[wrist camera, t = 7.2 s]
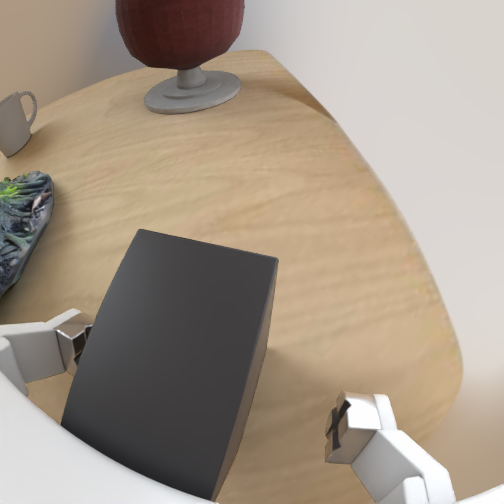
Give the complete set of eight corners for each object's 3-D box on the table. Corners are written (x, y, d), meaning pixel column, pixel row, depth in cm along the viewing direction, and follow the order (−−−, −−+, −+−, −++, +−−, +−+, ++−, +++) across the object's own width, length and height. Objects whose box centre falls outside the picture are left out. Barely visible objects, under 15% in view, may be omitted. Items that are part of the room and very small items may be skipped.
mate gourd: (267, 80, 30) (266, -56, 13) (199, 126, 24) (175, -66, 7) (180, 69, 35) (165, -38, 18) (112, 109, 28) (77, -19, 11)
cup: (-2, 158, 27) (-23, 122, 20) (38, 120, 32) (22, 84, 24) (7, 165, 25) (-18, 124, 18) (53, 122, 30) (34, 80, 22)
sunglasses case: (266, 346, 13) (279, 257, 6) (236, 453, 10) (201, 528, 3) (202, 329, 14) (138, 227, 6) (169, 432, 11) (53, 451, 3)
